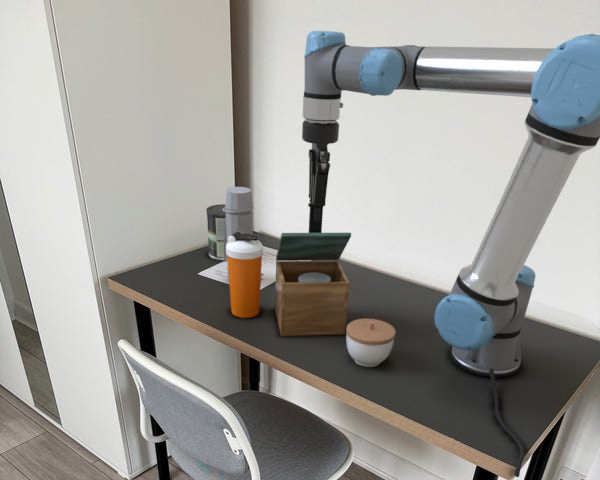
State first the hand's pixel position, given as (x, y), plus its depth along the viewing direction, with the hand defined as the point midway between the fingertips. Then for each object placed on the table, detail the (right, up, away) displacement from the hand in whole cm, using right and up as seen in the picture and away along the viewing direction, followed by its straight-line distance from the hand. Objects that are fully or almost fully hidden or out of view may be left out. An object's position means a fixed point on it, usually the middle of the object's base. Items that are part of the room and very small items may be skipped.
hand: (314, 234), depth 132 cm
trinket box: (+12, -29, 0) cm, 31 cm away
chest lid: (-1, -2, +5) cm, 5 cm away
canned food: (0, -18, +13) cm, 22 cm away
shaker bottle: (-17, -15, +17) cm, 29 cm away
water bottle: (-21, -3, +34) cm, 40 cm away
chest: (-1, -18, +14) cm, 23 cm away
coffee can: (-27, +8, +50) cm, 58 cm away
